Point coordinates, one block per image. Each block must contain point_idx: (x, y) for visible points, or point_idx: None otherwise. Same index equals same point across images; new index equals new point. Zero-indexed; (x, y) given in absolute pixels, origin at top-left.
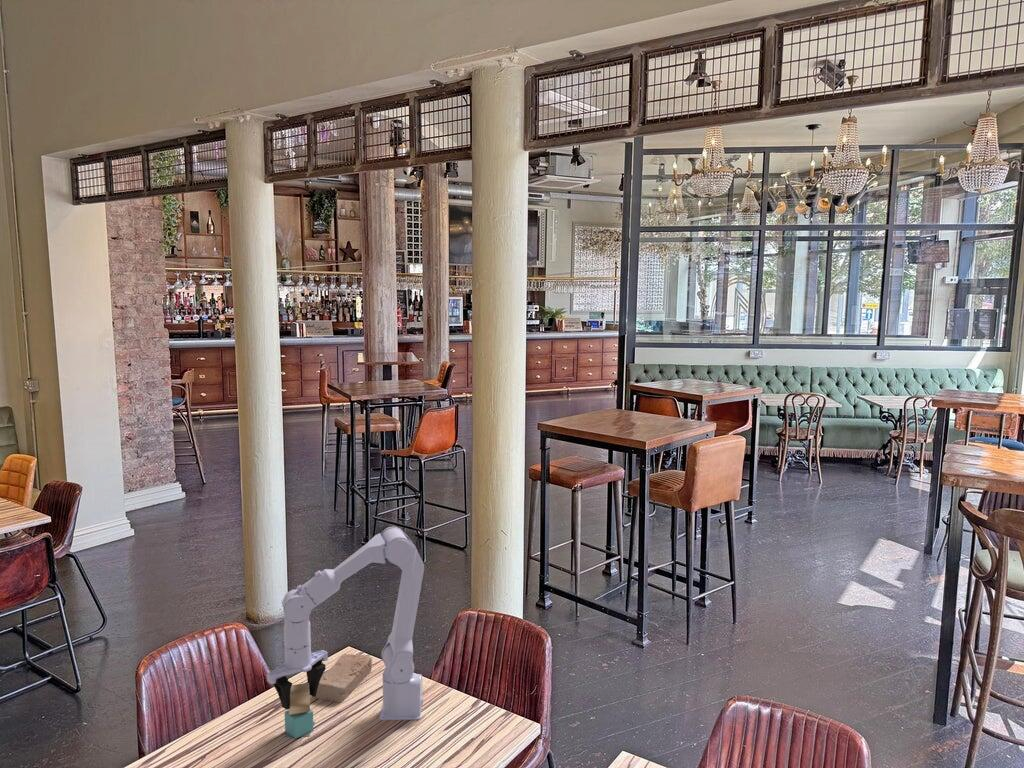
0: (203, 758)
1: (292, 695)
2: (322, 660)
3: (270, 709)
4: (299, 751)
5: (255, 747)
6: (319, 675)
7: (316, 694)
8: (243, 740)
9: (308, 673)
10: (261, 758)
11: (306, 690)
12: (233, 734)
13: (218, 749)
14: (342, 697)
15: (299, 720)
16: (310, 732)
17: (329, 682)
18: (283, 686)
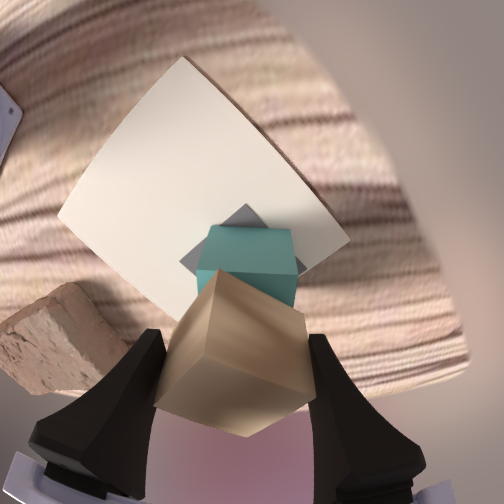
0: (458, 328)
1: (296, 388)
2: (44, 469)
3: None
4: (325, 157)
5: (386, 287)
6: (87, 413)
7: (121, 353)
8: (376, 332)
9: (141, 450)
10: (417, 229)
11: (203, 376)
12: (367, 362)
13: (425, 337)
14: (63, 292)
15: (273, 265)
16: (227, 221)
17: (75, 358)
18: (423, 460)
